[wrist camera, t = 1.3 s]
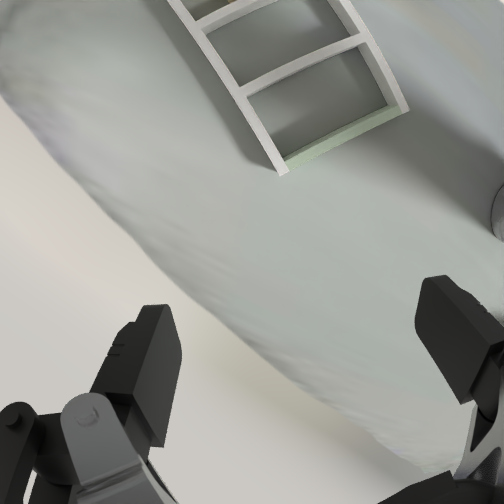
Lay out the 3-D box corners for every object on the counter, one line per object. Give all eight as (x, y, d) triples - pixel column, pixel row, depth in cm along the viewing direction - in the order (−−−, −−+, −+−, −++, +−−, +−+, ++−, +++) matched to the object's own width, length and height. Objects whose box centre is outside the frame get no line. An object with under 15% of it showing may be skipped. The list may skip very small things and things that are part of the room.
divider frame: (279, -69, 18) (281, -80, 16) (398, 110, 27) (409, 110, 25) (155, -16, 21) (148, -24, 19) (277, 172, 30) (280, 176, 28)
